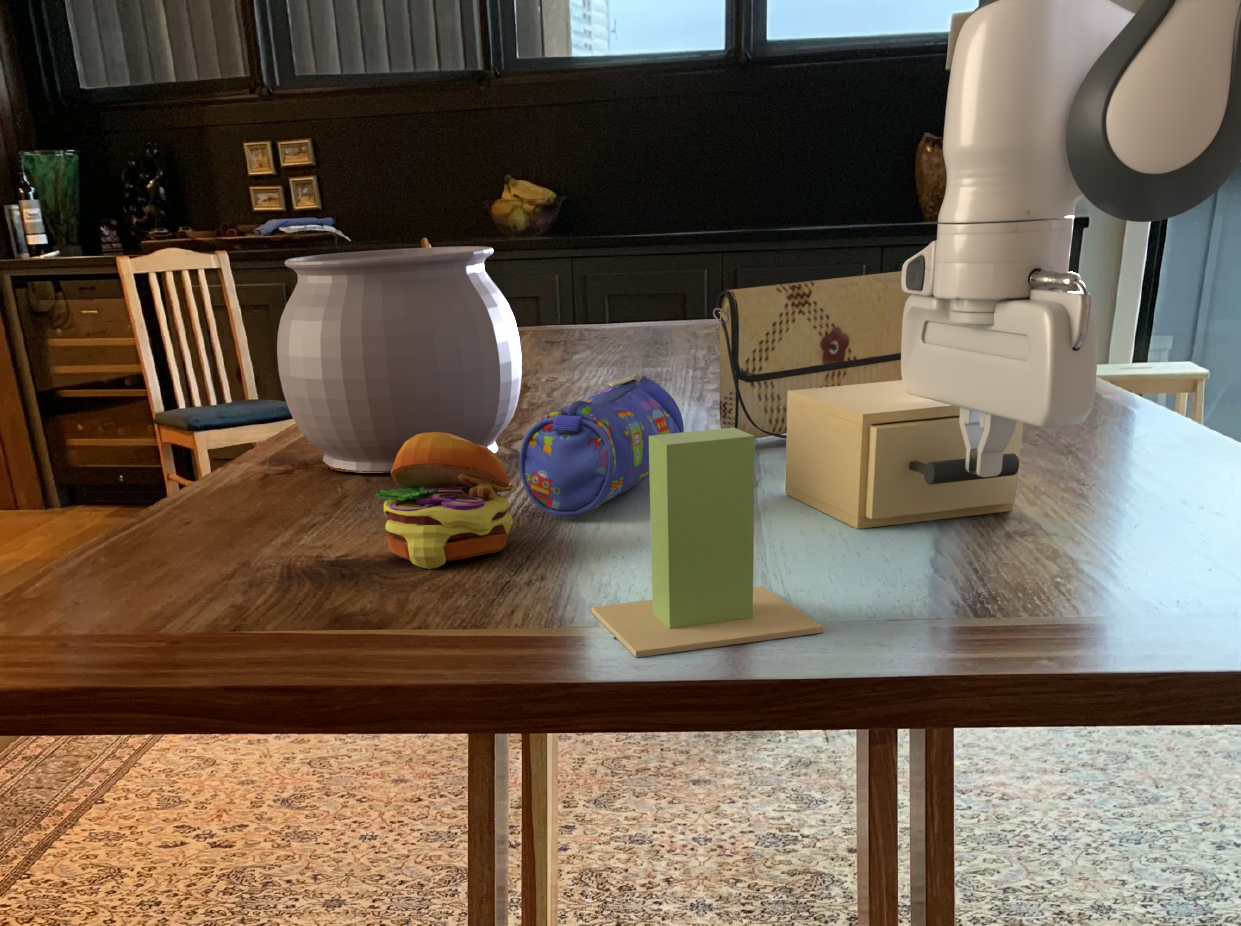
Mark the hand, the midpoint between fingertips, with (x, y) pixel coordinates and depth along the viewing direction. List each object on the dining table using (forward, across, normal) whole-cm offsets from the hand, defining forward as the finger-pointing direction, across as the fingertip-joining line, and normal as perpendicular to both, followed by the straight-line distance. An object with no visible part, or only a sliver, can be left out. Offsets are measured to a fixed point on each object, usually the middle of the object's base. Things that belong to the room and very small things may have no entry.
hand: (982, 474), depth 96 cm
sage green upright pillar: (+4, -11, +26) cm, 29 cm away
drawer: (+4, +10, 0) cm, 11 cm away
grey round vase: (+5, +56, +34) cm, 66 cm away
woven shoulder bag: (+5, +48, -11) cm, 49 cm away
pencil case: (+5, +28, +21) cm, 35 cm away
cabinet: (+5, +14, 0) cm, 15 cm away
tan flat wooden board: (+5, -11, +26) cm, 29 cm away
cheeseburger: (+5, +14, +38) cm, 41 cm away
